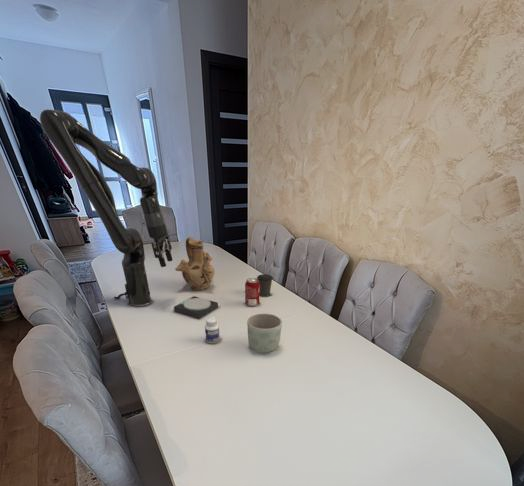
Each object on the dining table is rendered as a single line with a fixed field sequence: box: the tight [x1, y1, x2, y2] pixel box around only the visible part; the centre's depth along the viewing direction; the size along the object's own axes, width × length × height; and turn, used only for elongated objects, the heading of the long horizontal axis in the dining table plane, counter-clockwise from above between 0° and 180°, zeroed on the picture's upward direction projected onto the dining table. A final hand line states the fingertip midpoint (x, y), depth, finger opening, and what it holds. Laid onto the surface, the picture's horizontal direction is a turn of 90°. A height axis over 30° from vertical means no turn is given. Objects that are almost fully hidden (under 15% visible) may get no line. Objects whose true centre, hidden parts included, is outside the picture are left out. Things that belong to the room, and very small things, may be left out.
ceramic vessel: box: [174, 236, 215, 291], centre depth 157 cm, size 18×19×25 cm
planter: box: [246, 312, 283, 354], centre depth 112 cm, size 12×12×11 cm
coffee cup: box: [256, 273, 274, 297], centre depth 155 cm, size 8×8×10 cm
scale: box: [173, 295, 219, 320], centre depth 140 cm, size 14×14×3 cm
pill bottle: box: [204, 317, 221, 344], centre depth 116 cm, size 5×5×9 cm
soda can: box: [244, 277, 261, 307], centre depth 144 cm, size 7×7×12 cm
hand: (167, 263), depth 133 cm, fingers open, 8 cm apart
